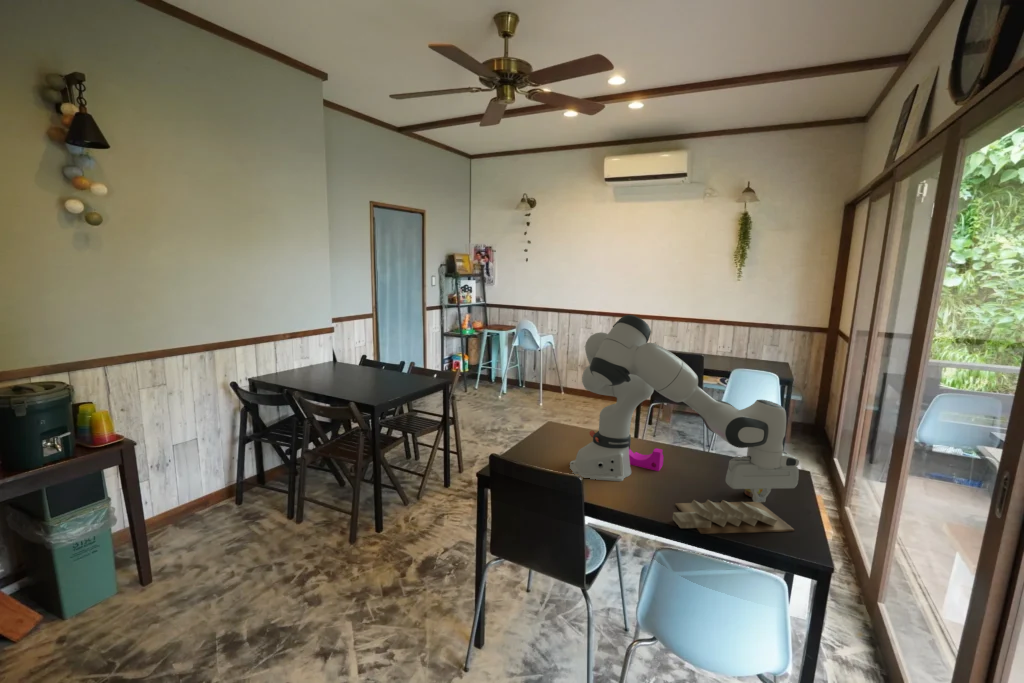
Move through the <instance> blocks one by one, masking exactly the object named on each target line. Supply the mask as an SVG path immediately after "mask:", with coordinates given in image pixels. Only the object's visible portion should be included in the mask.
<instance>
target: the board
mask: <svg viewBox="0 0 1024 683" xmlns="http://www.w3.org/2000/svg"><path fill="white" fill-rule="evenodd" d="M721 502H722V501H720V502H715V503H716V504H717V505H720V504H721ZM728 502H729V501H728ZM740 502H741V501H731V502H729V503H731V504H733V505H735V506H737V507H738V506H739V504H740ZM743 502H744V503H746V504H749V505H751V506H754V507H756V508H759V509H761V510H764V511H766V512H767V513H769V514H770V515H771V516H772V517H774V518H775V519H776V520H777V522H776V524H775V526H772V525H769V524H767V523H764V522H762V521H759V520H758V521H757V523H756V524H755V526H752V525H750V524H748V523H746V522H744V521H742V520H741V523H740V525H739V526H736V525H734V524H732V523H730V522H728V521H727V523H726V524H725V526H724V527H722V526H720V525H718V524H716V523H715V522H713V521H711V527H710V528H695V529H696V530H697V532H698V533H700V534H706V535H707V534H709V535H710V534H737V533H739V534H740V533H744V534H746V533H773V532H775V533H776V532H779V533H781V532H783V533H784V532H795V528H793V527H792V526H791V525H790V524H788V523H787V521H785V520H783V519H782V518H780V516H779V515H777V514H775V513H774V512H773V511H772V510H770V509H769V508H768V507H767V506H765V505H764V504H763V503H762V502H754V501H743ZM691 503H692V502H679V503H674V504H675V507H676V508H677V509H678V510H679V512H696V511H695V510H694V509H693V508H692V507H691V506H690V504H691ZM700 503H701V504H703V505H704V504H705V503H706V502H700Z"/></svg>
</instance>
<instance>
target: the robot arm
mask: <svg viewBox="0 0 1024 683" xmlns="http://www.w3.org/2000/svg"><path fill="white" fill-rule="evenodd" d="M651 333H652V329H651V328H650V326H649V324H648V323H647V322H646V321H645V320H644V319H642V318H640V317H638V316H636V315H633V314H626V315H623V316H622V317H619V319H618V320H617V321H616V322H615V323H614V324H613V325H612V328H611V329H610V330H609V332H608V333H607V332H602V331H601V332H596V333H593V334H592V335H589V337H588V338H587V340H586V342H585V346H584V348H585V355H586V358H587V361H588V363H589V365H588V366H587V367H586V368H584V370H583V372H582V377H581V380H582V381H581V382H582V385H583V387H584V388H585V390H587V391H590V392H591V393H594V394H598V395H603V396H609V397H615V398H616V403H613V404H609V405H607V406H604V407H603V408H602V409H601V410H600V413H599V420H598V421H599V422H598V430H597V431H596V432H595V431H594V430H590V431H589V436H590V437H591V438H592V441H590V442H589V443H588V444H586V445H584V446H583V447H581V448H580V449H579V450H578V451H577V453H576V457H575V459H574V460H571V461H570V462H569V465H570V467H569V470H570V469H571V470H572V471H573V472H571V473H572V474H573V473H574V474H579V475H581V476H582V477H584V478H590V479H589V480H595V479H596V481H598V480H599V481H609V482H610V481H611V482H623V481H624V479H625V478H627V477H629V476H631V475H632V468H631V464H630V460H629V449H631V445H632V444H631V443H632V440H631V439H632V438H631V436H632V435H631V434H630V432H631V423H632V418H633V414H634V412H635V410H636V408H637V407H638V406H639V405H640V404H641V403H643V402H644V401H646V400H648V399H649V398H650V397H651V396H652V395H653V393H654V391H655V392H657V393H659V395H661V396H663V397H665V398H666V399H668V400H670V401H672V402H675V403H681V402H683V403H684V404H686V405H687V406H688V407H689V408H691V409H692V410H694V411H695V412H696V413H697V414H698V415H699V416H700V418H701V419H702V422H703V424H704V425H705V427H706V428H707V430H709V431H711V432H712V433H713V434H715V435H717V436H718V437H719V438H721V439H722V440H724V441H725V442H726V443H728V444H729V445H731V446H732V447H734V448H738V449H744V448H745V449H746V448H747V451H746V455H745V456H744V455H743V456H739V455H737V456H733V458H731V459H729V462H728V468H727V470H726V475H725V483H726V485H727V486H729V488H731V489H732V490H744V489H750V490H751V492H752V494H753V498H752V502H760V503H766V500H767V497H768V496H769V495H770V493H771V491H772V489H795V488H796V487H797V485H798V483H799V477H800V476H799V474H800V473H799V472H800V470H799V468H798V466H800V465H799V464H800V459H798V458H797V457H796V456H794V455H793V454H790V453H788V452H787V451H784V445H783V442H784V438H785V437H786V430H787V411H786V410H785V408H784V407H783V406H782V405H780V404H778V403H777V402H773V401H770V400H765V399H757V400H755V402H754V403H752V404H751V405H749V406H747V407H745V408H742V409H739V408H737V407H735V406H734V405H732V404H731V403H729V402H727V401H722V400H718V399H715V398H713V397H712V396H711V395H709V394H708V393H707V392H705V391H704V389H702V388H701V387H700V386H699V377H698V375H697V373H696V372H695V371H694V370H693V369H692V368H691V367H690V366H689V365H688V363H686V362H685V361H684V360H683V359H681V358H679V357H678V356H676V354H674V353H673V352H671V351H670V350H668V349H666V348H665V347H663V346H661V345H659V344H657V343H653V342H649V339H650V336H651ZM571 470H570V471H571ZM574 474H573V475H574ZM759 489H763V490H762V492H761V494H757V492H759Z"/></svg>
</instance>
